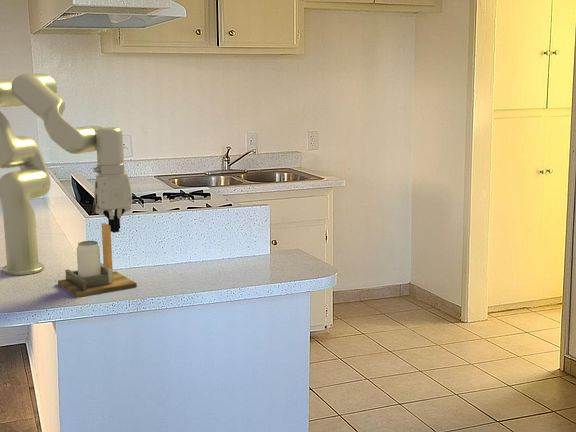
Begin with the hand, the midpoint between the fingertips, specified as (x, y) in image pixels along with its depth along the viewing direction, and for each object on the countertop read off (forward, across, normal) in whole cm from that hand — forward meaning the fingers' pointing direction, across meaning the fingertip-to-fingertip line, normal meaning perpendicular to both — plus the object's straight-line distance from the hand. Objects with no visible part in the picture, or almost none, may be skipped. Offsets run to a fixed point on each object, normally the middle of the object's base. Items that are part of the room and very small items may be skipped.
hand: (114, 231), depth 231 cm
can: (+14, -8, 0) cm, 17 cm away
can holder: (+14, -9, 0) cm, 17 cm away
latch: (+14, -3, 0) cm, 14 cm away
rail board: (+15, -7, 0) cm, 17 cm away
